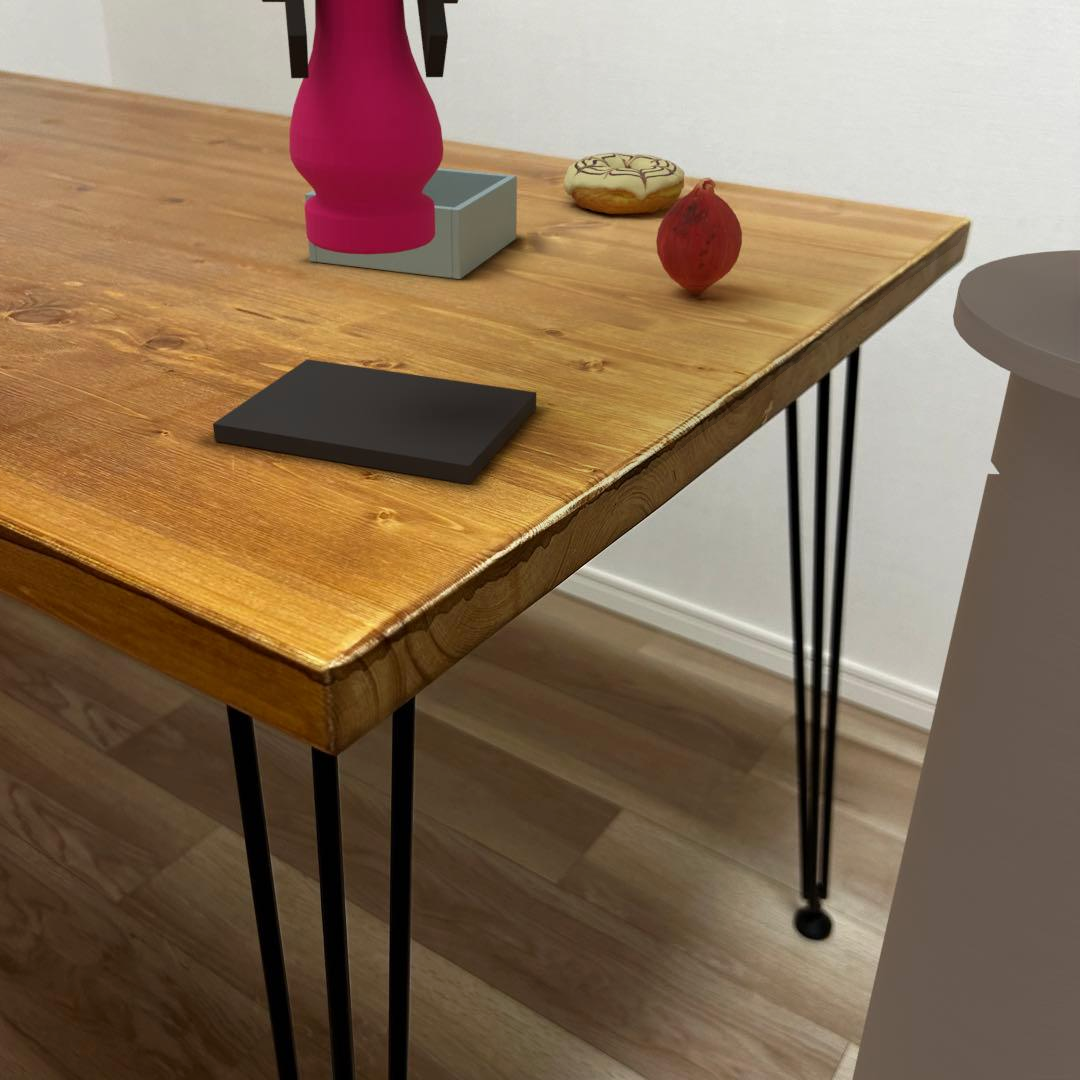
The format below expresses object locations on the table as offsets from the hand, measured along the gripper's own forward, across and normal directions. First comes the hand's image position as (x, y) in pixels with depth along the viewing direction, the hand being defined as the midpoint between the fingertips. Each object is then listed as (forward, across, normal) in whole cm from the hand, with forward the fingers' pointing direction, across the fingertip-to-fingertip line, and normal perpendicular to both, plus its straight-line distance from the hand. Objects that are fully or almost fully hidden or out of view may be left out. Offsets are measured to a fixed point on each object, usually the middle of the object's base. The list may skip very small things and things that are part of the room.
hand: (368, 56), depth 51 cm
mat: (+11, 0, -16) cm, 19 cm away
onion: (-3, -24, -30) cm, 38 cm away
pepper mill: (+4, 0, -9) cm, 10 cm away
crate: (-13, -6, -40) cm, 42 cm away
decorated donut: (-22, -26, -49) cm, 59 cm away
